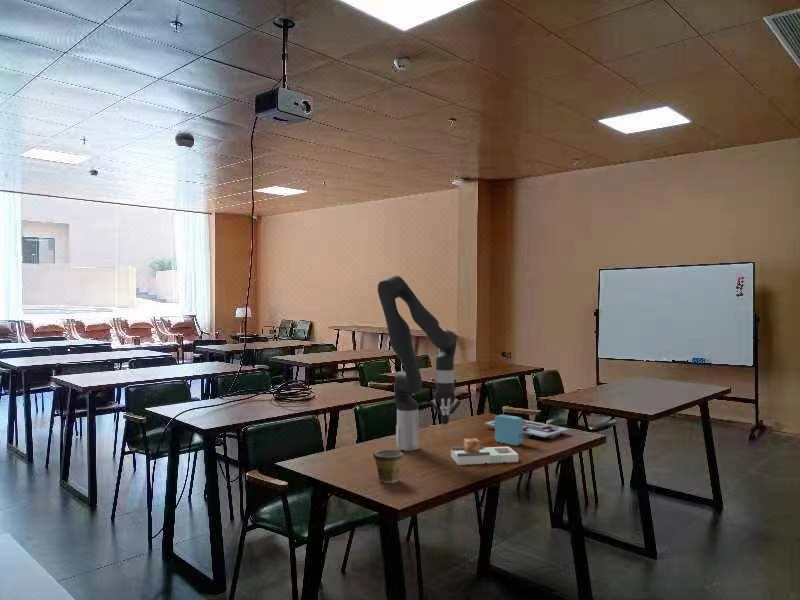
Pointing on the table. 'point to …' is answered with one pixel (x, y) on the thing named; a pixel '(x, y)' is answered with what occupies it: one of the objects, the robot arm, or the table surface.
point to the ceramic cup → (388, 465)
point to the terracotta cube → (471, 445)
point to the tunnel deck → (484, 455)
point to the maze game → (537, 429)
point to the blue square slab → (509, 429)
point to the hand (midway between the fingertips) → (445, 424)
